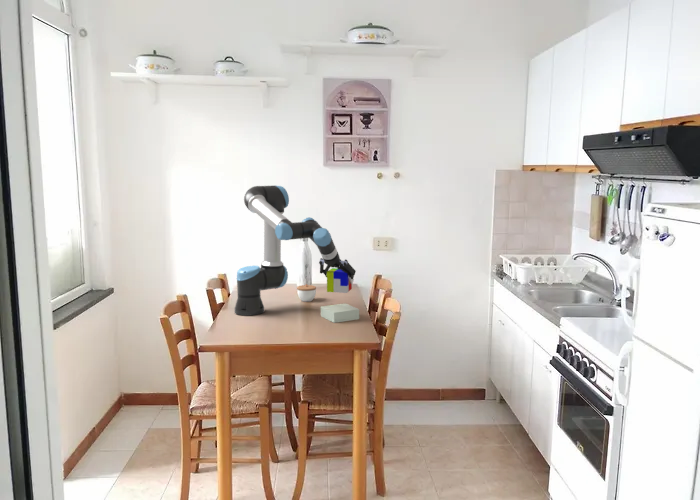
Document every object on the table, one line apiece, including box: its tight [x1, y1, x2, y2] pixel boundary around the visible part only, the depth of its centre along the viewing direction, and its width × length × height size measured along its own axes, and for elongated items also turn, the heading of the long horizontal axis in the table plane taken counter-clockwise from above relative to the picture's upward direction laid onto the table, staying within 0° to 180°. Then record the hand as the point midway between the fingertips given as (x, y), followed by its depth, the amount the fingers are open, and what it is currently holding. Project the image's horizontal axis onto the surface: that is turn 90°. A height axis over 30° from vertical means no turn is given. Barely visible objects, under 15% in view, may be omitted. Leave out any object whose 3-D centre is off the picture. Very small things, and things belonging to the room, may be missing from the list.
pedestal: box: [320, 303, 360, 324], centre depth 273 cm, size 14×14×5 cm
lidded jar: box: [296, 283, 317, 303], centre depth 309 cm, size 11×11×9 cm
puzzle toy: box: [326, 267, 353, 294], centre depth 270 cm, size 10×10×10 cm
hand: (341, 281), depth 273 cm, fingers closed on puzzle toy, 11 cm apart
